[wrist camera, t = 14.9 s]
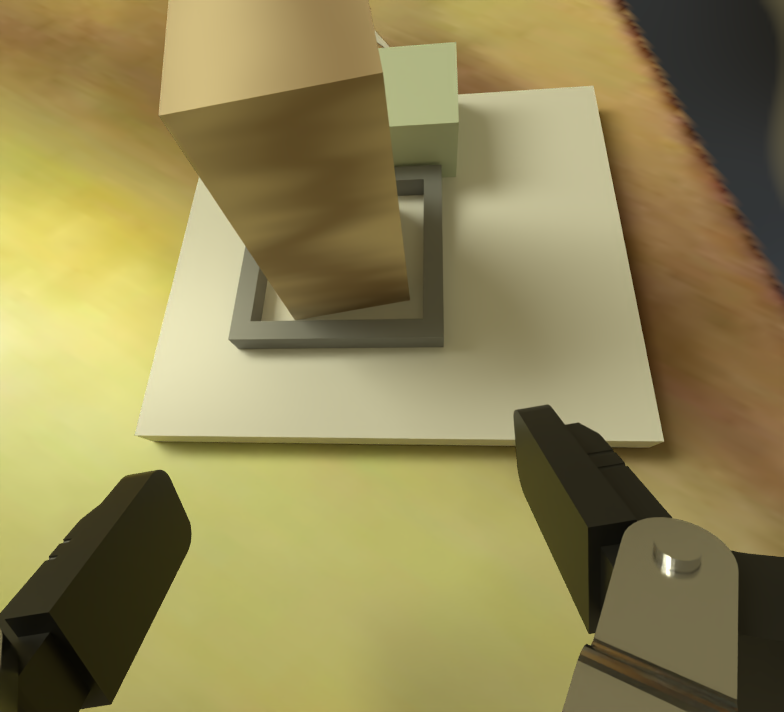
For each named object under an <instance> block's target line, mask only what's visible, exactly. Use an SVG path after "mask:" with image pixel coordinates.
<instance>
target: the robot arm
mask: <svg viewBox="0 0 784 712" xmlns="http://www.w3.org/2000/svg"><path fill="white" fill-rule="evenodd" d="M513 419H514V432H515V444H516V456H517V468H518V474H519V479H520V483H521V487H522V490H523V493H524V495H525V498H526V500H527V502H528V504H529V506H530V508H531V510H532V513H533V515H534V517H535V519H536V521H537V523H538V526H539V528H540V530H541V532H542V534H543V536H544V538H545V541H546V543H547V545H548V547H549V549H550V551H551V553H552V556H553V558H554V560H555V562H556V564H557V566H558V569H559V571H560V573H561V575H562V577H563V579H564V581H565V584H566V586H567V588H568V590H569V592H570V594H571V597H572V599H573V601H574V603H575V605H576V607H577V609H578V612H579V614H580V616H581V618H582V620H583V622H584V624H585V627H586V629H587V631H588V633H589V634H592V633H595V636H594V639H593V642H592V644H591V646H590V645H588V644H586V645H585V646H584V647H583V649H582V651H581V653H580V655H579V658H578V661H577V664H576V667H575V671H574V674H573V677H572V681H571V684H570V687H569V691H568V694H567V697H566V701H565V704H564V707H563V711H562V712H784V557H776V556H766V555H756V554H747V553H740V552H735V551H731V550H730V549H729V548H728V547H727V546H726V545H725V544H724V543H723V542H722V541H721V540H720V539H719V538H717V537H716V536H715V535H713V534H712V533H710V532H709V531H707V530H705V529H703V528H701V527H699V526H697V525H694V524H692V523H689V522H686V521H683V520H678V519H673V518H672V517H671V516H670V515H669V513H668V512H667V511H666V510H665V509H664V508H663V506H662V505H661V504H660V503H659V502H658V501H657V500H656V498H655V497H654V496H653V495H652V494H651V493H650V491H649V490H648V489H647V488H646V487H645V486H644V485H643V483H642V482H641V481H640V480H639V479H638V478H637V476H636V475H635V474H634V473H633V472H632V471H631V470H630V468H629V467H628V466H625V463H624V461H623V460H622V459H621V458H620V457H619V456H618V455H617V453H614V452H613V449H612V448H611V446H610V445H609V444H608V443H607V442H606V441H605V440H604V438H603V437H602V436H601V435H600V434H599V433H597V432H595V431H593V430H592V429H590V428H588V427H586V426H584V425H582V424H581V423H579V422H578V423H572V424H566V425H565V424H564V423H563V421H562V420H561V419H560V417H559V416H558V415H557V413H556V412H555V411H554V410H553V408H552V407H551V406H550V405H548V404H547V405H541V406H535V407H529V408H523V409H517V410H515V411H514V415H513ZM63 540H64V542H63V543H61V544H59V545H58V546H57V548H56V549H55V550H54V551H53V552H52V553H51V555H50V556H49V560H47V561H45V562H44V563H43V564H42V565H41V566H40V567H39V569H38V570H37V571H36V572H35V573H34V574H33V576H32V577H31V578H30V579H29V580H28V581H27V583H26V584H25V585H24V586H23V587H22V588H21V590H20V591H19V592H18V593H17V594H16V595H15V597H14V598H13V599H12V600H11V601H10V602H9V604H8V605H7V606H6V607H5V608H4V609H3V611H2V612H1V613H0V712H79V710H80V709H84V708H91V707H97V706H104V705H110V704H112V702H113V700H114V698H115V696H116V694H117V692H118V690H119V688H120V686H121V684H122V682H123V680H124V678H125V676H126V674H127V672H128V670H129V668H130V666H131V664H132V662H133V660H134V658H135V656H136V654H137V652H138V650H139V648H140V646H141V644H142V642H143V640H144V638H145V636H146V634H147V632H148V630H149V628H150V626H151V624H152V622H153V620H154V618H155V616H156V614H157V612H158V610H159V608H160V606H161V604H162V602H163V600H164V598H165V596H166V594H167V592H168V590H169V588H170V586H171V584H172V582H173V580H174V578H175V576H176V574H177V572H178V570H179V568H180V566H181V564H182V562H183V560H184V558H185V556H186V554H187V552H188V550H189V547H190V543H191V525H190V522H189V519H188V517H187V515H186V512H185V510H184V508H183V506H182V503H181V501H180V499H179V497H178V495H177V492H176V490H175V488H174V486H173V484H172V481H171V479H170V477H169V475H168V474H167V473H166V472H165V471H163V470H155V471H149V472H143V473H138V474H132V475H127V476H125V477H123V478H122V479H121V480H120V482H119V483H118V484H117V485H116V486H115V488H114V489H113V490H112V491H111V492H110V494H109V495H108V496H107V497H106V498H105V500H104V501H103V502H102V503H101V504H100V505H99V506H97V507H96V508H95V509H94V510H92V511H91V512H90V513H88V514H87V515H86V516H85V517H83V518H82V519H81V520H80V521H79V522H78V523H77V524H76V525H75V527H74V528H73V529H72V530H71V531H70V532H69V534H68V535H67V536H66V537H65V538H64V539H63Z"/></svg>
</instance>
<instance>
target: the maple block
mask: <svg viewBox="0 0 784 712" xmlns="http://www.w3.org/2000/svg"><path fill="white" fill-rule="evenodd" d="M159 117H160V118H161V120H162V121H163V123H164V124H165V126H166V127H167V129H168V131H169V132H170V134H171V135H172V137H173V138H174V140H175V141H176V143H177V144H178V146H179V147H180V149H181V150H182V152H183V153H184V155H185V156H186V158H187V159H188V161H189V162H190V164H191V165H192V167H193V168H194V170H195V171H196V173H197V174H198V176H199V177H200V179H201V180H202V182H203V183H204V185H205V186H206V188H207V189H208V191H209V192H210V194H211V195H212V197H213V198H214V200H215V201H216V203H217V204H218V206H219V207H220V209H221V210H222V212H223V213H224V215H225V216H226V218H227V219H228V221H229V222H230V224H231V225H232V227H233V228H234V230H235V231H236V233H237V234H238V236H239V237H240V239H241V240H242V242H243V243H244V245H245V246H246V248H247V249H248V251H249V252H250V254H251V255H252V257H253V258H254V260H255V261H256V263H257V264H258V266H259V267H260V269H261V270H262V272H263V273H264V275H265V276H266V278H267V279H268V281H269V282H270V284H271V285H272V287H273V288H274V290H275V291H276V293H277V294H278V296H279V297H280V299H281V300H282V302H283V303H284V305H285V306H286V308H287V309H288V311H289V312H290V314H291V315H292V317H293V318H294V320H300V319H305V318H311V317H317V316H323V315H328V314H334V313H340V312H346V311H351V310H357V309H363V308H368V307H374V306H380V305H386V304H391V303H397V302H403V301H409V300H410V295H409V287H408V278H407V270H406V262H405V253H404V245H403V236H402V228H401V220H400V211H399V203H398V194H397V186H396V178H395V169H394V161H393V152H392V144H391V136H390V127H389V119H388V110H387V102H386V94H385V85H384V77H383V70H382V65H381V60H380V55H379V50H378V45H377V40H376V35H375V30H374V25H373V20H372V16H371V11H370V6H369V1H368V0H169V3H168V14H167V26H166V37H165V49H164V60H163V72H162V83H161V95H160V106H159Z"/></svg>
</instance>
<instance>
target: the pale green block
mask: <svg viewBox="0 0 784 712" xmlns="http://www.w3.org/2000/svg"><path fill="white" fill-rule="evenodd" d="M378 50H379V55H380V60H381V65H382V70H383V77H384V85H385V94H386V102H387V110H388V119H389V127H390V136H391V144H392V152H393V161H394V167H402V166H421V165H441V166H442V177H456V169H457V149H458V129H459V113H458V84H457V56H456V42H452V43H439V44H426V45H413V46H401V47H388V48H378Z"/></svg>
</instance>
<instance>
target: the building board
mask: <svg viewBox="0 0 784 712" xmlns="http://www.w3.org/2000/svg"><path fill="white" fill-rule="evenodd" d="M458 113H459V129H458V149H457V169H456V177H442V166H441V165H421V166H402V167H394V169H395V178H396V186H397V194H398V203H399V211H400V220H401V228H402V236H403V245H404V253H405V262H406V270H407V278H408V287H409V295H410V300H409V301H403V302H397V303H391V304H386V305H380V306H374V307H368V308H363V309H357V310H351V311H346V312H340V313H334V314H328V315H323V316H317V317H311V318H305V319H300V320H294V318H293V317H292V315H291V314H290V312H289V311H288V309H287V308H286V306H285V305H284V303H283V302H282V300H281V299H280V297H279V296H278V294H277V293H276V291H275V290H274V288H273V287H272V285H271V284H270V282H269V281H268V279H267V278H266V276H265V275H264V273H263V272H262V270H261V269H260V267H259V266H258V264H257V263H256V261H255V260H254V258H253V257H252V255H251V254H250V252H249V251H248V249H247V248H246V246H245V245H244V243H243V242H242V240H241V239H240V237H239V236H238V234H237V233H236V231H235V230H234V228H233V227H232V225H231V224H230V222H229V221H228V219H227V218H226V216H225V215H224V213H223V212H222V210H221V209H220V207H219V206H218V204H217V203H216V201H215V200H214V198H213V197H212V195H211V194H210V192H209V191H208V189H207V188H206V186H205V185H204V183H203V182H202V180H201V179H200V177H199V180H198V184H197V188H196V192H195V196H194V200H193V204H192V208H191V212H190V216H189V220H188V224H187V228H186V232H185V236H184V240H183V244H182V248H181V252H180V256H179V260H178V264H177V268H176V272H175V276H174V280H173V284H172V288H171V292H170V296H169V300H168V304H167V308H166V312H165V316H164V320H163V324H162V328H161V332H160V336H159V340H158V344H157V348H156V352H155V356H154V360H153V364H152V368H151V372H150V376H149V380H148V384H147V388H146V392H145V396H144V400H143V404H142V408H141V412H140V416H139V420H138V424H137V428H136V432H135V436H138V437H141V438H144V439H147V440H150V441H167V442H245V443H323V444H401V445H479V446H516V444H515V432H514V419H513V415H514V411H515V410H517V409H523V408H529V407H535V406H541V405H547V404H548V405H550V406H551V407H552V408H553V410H554V411H555V412H556V413H557V415H558V416H559V417H560V419H561V420H562V421H563V423H564V424H565V425H566V424H572V423H578V422H579V423H581V424H582V425H584V426H586V427H588V428H590V429H592V430H593V431H595V432H597V433H599V434H600V435H601V436H602V437H603V438H604V440H605V441H606V442H607V443H608V444H609V445H610V446H611V447H636V448H650V447H652V446H654V445H657V444H659V443H662V442H664V438H663V433H662V428H661V423H660V418H659V413H658V408H657V403H656V398H655V393H654V388H653V383H652V378H651V373H650V368H649V363H648V358H647V353H646V348H645V343H644V338H643V333H642V328H641V323H640V318H639V313H638V308H637V303H636V298H635V293H634V288H633V283H632V278H631V273H630V268H629V263H628V257H627V252H626V247H625V242H624V237H623V232H622V227H621V222H620V217H619V212H618V207H617V202H616V197H615V192H614V187H613V182H612V177H611V172H610V167H609V162H608V157H607V152H606V147H605V142H604V137H603V132H602V127H601V122H600V117H599V112H598V107H597V102H596V97H595V92H594V87H593V86H582V87H567V88H552V89H537V90H522V91H507V92H492V93H477V94H461V95H458Z"/></svg>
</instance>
